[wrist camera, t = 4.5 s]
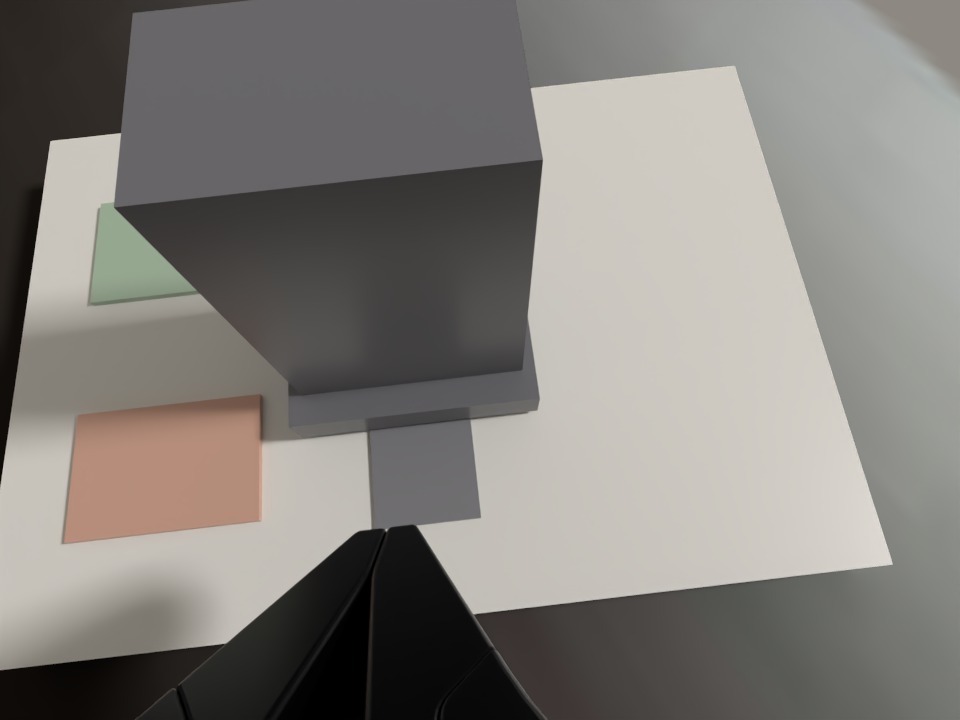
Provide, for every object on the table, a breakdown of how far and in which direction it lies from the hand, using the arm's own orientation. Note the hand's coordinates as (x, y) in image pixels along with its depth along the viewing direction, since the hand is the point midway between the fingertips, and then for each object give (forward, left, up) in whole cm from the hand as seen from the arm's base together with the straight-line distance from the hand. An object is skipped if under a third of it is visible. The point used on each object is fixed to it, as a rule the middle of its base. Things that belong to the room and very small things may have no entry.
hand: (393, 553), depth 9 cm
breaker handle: (+5, +2, -6) cm, 8 cm away
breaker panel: (+5, +3, -8) cm, 10 cm away
